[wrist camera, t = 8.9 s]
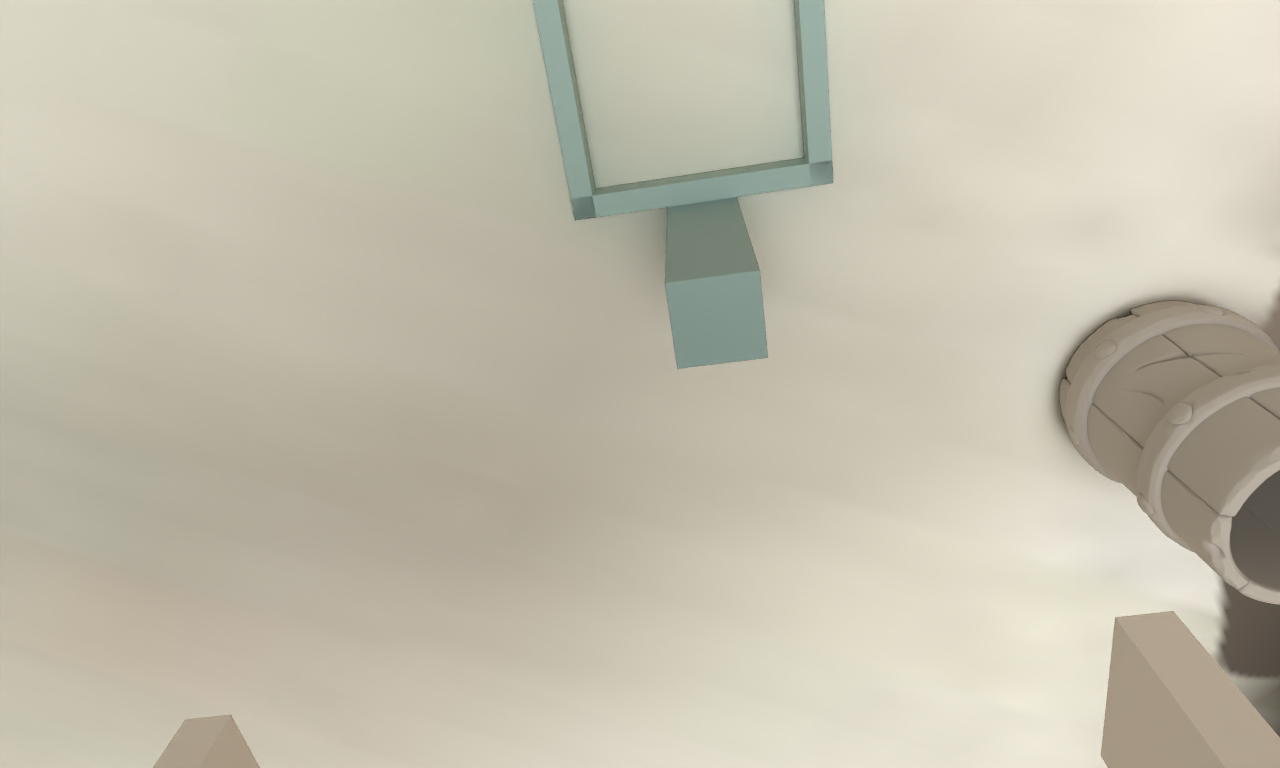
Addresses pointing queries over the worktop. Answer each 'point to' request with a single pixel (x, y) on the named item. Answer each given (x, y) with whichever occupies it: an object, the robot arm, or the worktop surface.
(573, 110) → the grey-green framed piece
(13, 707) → the worktop surface
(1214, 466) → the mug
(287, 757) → the worktop surface
